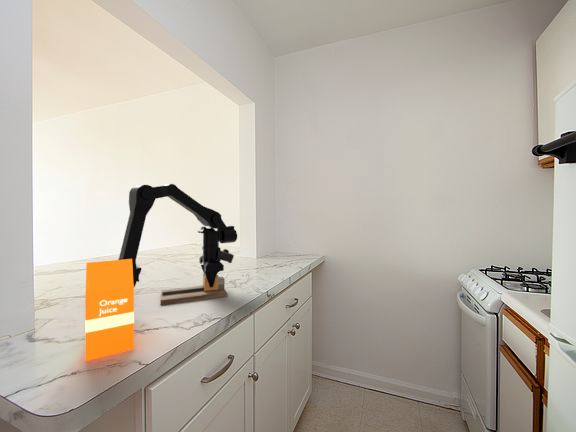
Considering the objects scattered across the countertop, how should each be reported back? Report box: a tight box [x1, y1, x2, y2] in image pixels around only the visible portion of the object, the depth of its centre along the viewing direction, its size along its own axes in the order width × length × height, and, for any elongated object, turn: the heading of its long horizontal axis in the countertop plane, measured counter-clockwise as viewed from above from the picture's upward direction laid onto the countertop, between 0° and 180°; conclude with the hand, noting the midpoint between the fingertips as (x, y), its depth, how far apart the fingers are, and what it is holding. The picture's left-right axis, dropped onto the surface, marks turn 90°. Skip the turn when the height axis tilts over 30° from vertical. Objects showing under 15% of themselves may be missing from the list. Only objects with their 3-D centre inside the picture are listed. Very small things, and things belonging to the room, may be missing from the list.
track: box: [160, 276, 228, 306], centre depth 97 cm, size 12×22×6 cm, turn 115°
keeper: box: [202, 273, 219, 291], centre depth 99 cm, size 4×5×5 cm
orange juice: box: [84, 259, 135, 362], centre depth 60 cm, size 8×9×20 cm
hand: (210, 285), depth 99 cm, fingers closed on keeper, 4 cm apart
